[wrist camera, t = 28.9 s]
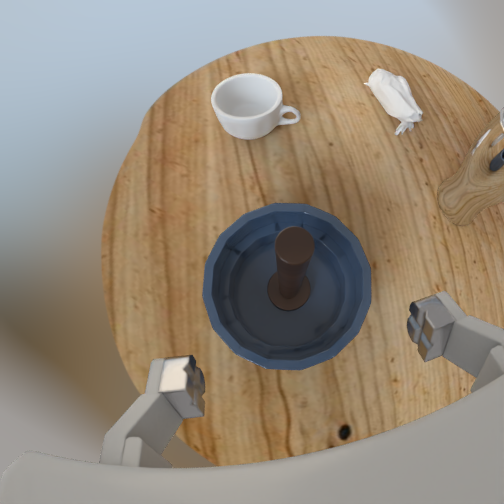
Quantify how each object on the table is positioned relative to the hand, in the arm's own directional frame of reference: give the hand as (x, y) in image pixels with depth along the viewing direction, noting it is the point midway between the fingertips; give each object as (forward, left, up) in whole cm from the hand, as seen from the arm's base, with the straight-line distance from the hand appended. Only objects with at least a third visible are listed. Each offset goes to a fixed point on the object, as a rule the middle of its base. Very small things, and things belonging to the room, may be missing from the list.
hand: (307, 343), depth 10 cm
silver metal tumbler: (+21, -13, -19) cm, 31 cm away
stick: (+4, +2, -18) cm, 19 cm away
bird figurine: (+31, -1, -19) cm, 37 cm away
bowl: (+3, +2, -19) cm, 19 cm away
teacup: (+20, +13, -19) cm, 31 cm away
